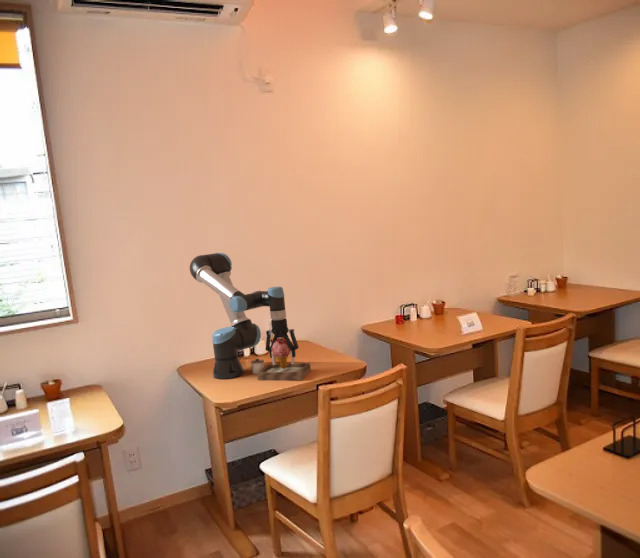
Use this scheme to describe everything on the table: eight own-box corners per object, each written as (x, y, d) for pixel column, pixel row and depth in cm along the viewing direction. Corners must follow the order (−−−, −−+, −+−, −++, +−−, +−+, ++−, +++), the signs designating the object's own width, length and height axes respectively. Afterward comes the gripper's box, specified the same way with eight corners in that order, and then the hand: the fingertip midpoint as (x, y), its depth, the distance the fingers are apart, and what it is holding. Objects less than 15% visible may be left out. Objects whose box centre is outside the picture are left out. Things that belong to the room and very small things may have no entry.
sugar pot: (249, 374, 283) (248, 359, 283) (260, 372, 287) (259, 357, 287) (256, 375, 278) (255, 360, 278) (267, 373, 282) (266, 358, 282)
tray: (258, 381, 270) (257, 373, 270) (269, 371, 285) (268, 364, 285) (301, 380, 264) (300, 372, 264) (310, 370, 280) (310, 362, 279)
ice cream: (277, 373, 268) (272, 342, 266) (272, 369, 277) (267, 339, 275) (299, 368, 271) (294, 337, 270) (292, 364, 281) (288, 335, 279)
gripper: (255, 321, 271) (260, 366, 274) (297, 319, 265) (302, 365, 268) (260, 318, 278) (265, 362, 281) (302, 316, 273) (307, 361, 275)
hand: (283, 363), depth 274 cm, fingers closed on ice cream, 9 cm apart
